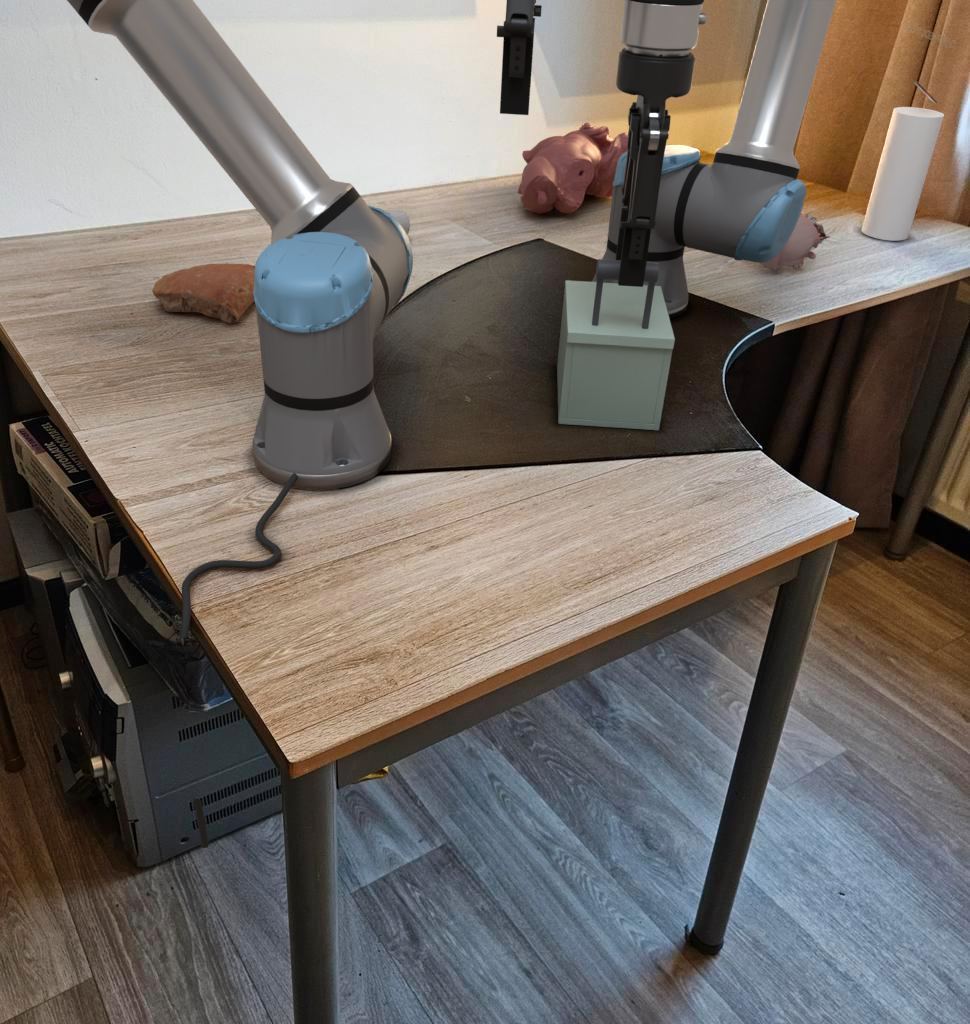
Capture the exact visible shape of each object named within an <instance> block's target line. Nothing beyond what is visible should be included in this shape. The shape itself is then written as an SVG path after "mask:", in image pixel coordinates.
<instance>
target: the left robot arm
mask: <svg viewBox="0 0 970 1024" xmlns="http://www.w3.org/2000/svg"><path fill="white" fill-rule="evenodd" d="M66 1H67V3H68V4H70V6H71V7H72V9H74V10H75V12H76V13H77V15H78V16H79V17H80V18H81V20H83V22H84V23H85V24H86V25H87V26H88V28H89V29H90V30H91V31H92V32H94V33H99V34H104V35H110V36H114V37H116V39H117V41H119V42H120V44H121V45H122V46H123V47H124V48H125V50H126V51H127V53H129V55H130V56H131V58H133V60H134V61H135V62H136V63H137V65H138V66H139V67H140V68H141V69H142V71H143V72H144V73H145V75H146V76H147V77H148V78H149V80H150V81H151V82H152V84H154V86H155V87H156V88H157V89H158V91H159V92H160V93H161V94H162V96H163V97H164V98H165V100H167V101H168V103H169V104H170V105H171V106H172V108H173V109H174V111H175V112H176V113H177V114H178V115H179V116H180V117H181V119H182V120H183V121H184V123H185V124H186V125H187V127H189V129H190V130H191V131H192V132H193V133H194V135H195V136H196V137H197V138H198V140H199V141H200V142H201V143H202V145H203V146H204V147H205V149H206V150H207V151H208V153H210V155H211V156H212V157H213V158H214V160H216V162H217V163H218V165H219V166H220V167H221V168H222V169H223V171H224V172H225V173H226V174H227V175H228V177H229V178H230V179H231V181H233V183H234V184H235V185H236V186H237V188H238V189H239V190H240V191H241V192H242V194H243V195H244V196H245V198H246V199H247V200H248V202H250V204H251V205H252V206H253V207H254V209H255V211H257V213H258V214H259V215H260V216H261V217H262V219H264V221H265V222H266V224H267V225H268V226H269V228H270V230H271V236H270V237H271V241H270V244H269V245H268V246H266V248H265V249H264V250H262V252H261V253H260V254H259V256H258V258H257V259H256V261H255V265H254V266H255V270H254V277H255V281H254V290H253V295H254V305H255V310H256V311H255V312H256V320H257V331H258V340H259V349H260V359H261V369H262V378H263V388H264V390H263V391H264V396H263V400H262V404H261V408H260V412H259V415H258V419H257V423H256V427H255V430H254V434H253V438H252V442H251V443H252V445H251V446H252V455H253V460H254V464H255V467H256V468H257V470H258V471H259V472H260V473H261V474H262V475H263V476H265V477H266V478H268V479H269V480H271V481H273V482H275V483H278V484H280V485H283V488H282V489H281V490H280V492H279V493H278V494H277V497H276V498H275V500H273V502H272V504H271V505H270V506H269V507H268V509H267V510H266V511H265V512H264V513H263V514H262V515H261V517H260V518H259V520H258V521H257V523H256V526H255V531H254V532H255V538H256V539H257V540H258V542H259V543H260V544H261V545H262V546H264V547H265V548H267V549H268V550H270V551H271V552H272V553H273V555H272V556H271V557H269V558H267V559H264V560H256V561H255V560H254V561H253V560H251V561H249V560H235V559H234V560H233V559H224V560H223V559H217V560H211V561H208V562H204V563H202V564H201V565H198V566H197V567H196V568H194V569H193V570H192V571H190V572H189V573H188V575H187V576H186V577H185V578H184V580H183V582H182V585H181V599H182V600H181V601H182V603H181V606H182V608H181V609H182V610H181V613H182V614H181V624H180V630H179V638H180V639H186V638H187V637H189V634H190V628H191V617H192V600H191V586H192V584H193V582H194V581H195V580H196V579H197V578H198V577H200V576H201V575H202V574H204V573H206V572H208V571H211V570H214V569H241V570H242V569H243V570H244V569H245V570H260V569H261V570H262V569H267V568H270V567H272V566H274V565H275V564H277V563H278V562H279V561H280V559H281V558H282V550H281V548H280V546H278V545H277V544H275V543H274V542H273V541H272V540H270V539H268V537H266V535H264V528H265V526H266V524H267V522H268V521H269V519H270V518H271V517H272V516H273V515H274V513H276V511H277V510H278V509H279V507H280V506H281V504H282V503H283V502H284V500H285V498H286V497H287V495H288V494H289V492H290V491H291V489H292V488H295V489H301V490H312V491H314V490H315V491H323V490H327V491H328V490H337V489H342V488H348V487H351V486H355V485H358V484H361V483H363V482H366V481H368V480H370V479H373V478H374V477H375V476H377V475H378V474H380V473H381V472H382V471H383V470H384V469H385V468H386V467H387V466H388V464H389V463H390V461H391V458H392V434H391V431H390V430H389V427H388V424H387V422H386V419H385V417H384V413H383V411H382V408H381V406H380V403H379V400H378V398H377V395H376V393H375V385H374V336H375V333H376V332H377V331H378V329H379V328H380V326H381V325H382V324H383V323H384V321H385V320H386V318H387V317H388V315H389V314H390V313H391V311H392V310H393V308H395V307H396V306H397V305H398V304H399V302H400V301H401V299H402V298H403V297H404V295H405V293H406V291H407V288H408V285H409V281H410V279H411V278H412V277H411V276H412V273H413V265H414V256H413V255H414V254H413V248H412V244H411V242H410V239H409V236H408V235H407V234H406V232H405V231H404V229H403V227H402V226H401V225H400V224H399V222H398V221H397V220H396V219H395V218H394V217H393V216H391V215H390V214H389V213H387V212H386V211H385V210H384V209H383V208H380V207H375V206H371V205H368V203H367V202H366V201H365V200H364V199H363V197H362V195H361V194H360V193H359V192H358V191H357V190H356V188H355V186H354V185H353V184H352V183H350V182H344V181H337V180H334V179H332V178H330V177H329V175H328V173H326V171H325V170H324V169H323V167H322V166H321V164H320V163H319V162H318V161H317V160H316V158H315V157H314V156H313V154H312V153H311V151H309V149H308V148H307V146H306V145H305V143H304V142H303V141H302V139H300V137H299V136H298V134H297V133H296V132H295V130H294V129H293V128H292V127H291V126H290V125H289V122H287V120H286V119H285V117H284V116H283V115H282V114H281V113H280V111H279V110H278V109H277V107H276V106H275V105H274V104H273V102H272V101H271V99H270V98H269V97H268V95H267V94H266V93H265V91H264V90H263V89H262V88H261V86H260V85H259V84H258V83H257V81H256V80H255V79H254V77H253V76H252V75H251V74H250V72H249V71H248V69H246V67H245V66H244V64H243V63H242V62H241V60H240V59H239V58H238V56H236V54H235V53H234V52H233V50H232V49H231V47H230V46H229V45H228V44H227V42H226V41H225V39H224V38H223V37H222V36H221V35H220V33H219V32H218V30H217V29H216V28H215V27H214V25H213V24H212V23H211V21H210V20H209V19H208V18H207V16H206V15H205V13H203V11H202V10H201V8H200V7H199V6H198V5H197V4H196V2H195V1H194V0H66ZM536 3H537V0H506V4H505V20H504V21H503V25H497V26H496V38H503V42H502V63H501V81H500V82H501V83H500V99H499V100H500V102H499V114H500V115H501V114H502V115H515V116H516V115H518V116H529V111H530V98H531V97H530V96H531V85H532V84H531V83H532V73H533V71H532V70H533V57H534V56H533V55H534V39H535V26H536V25H535V24H536V18H535V17H537V18H538V17H539V18H541V17H542V5H541V4H536ZM192 802H193V808H194V811H195V812H194V813H195V818H196V823H197V828H198V834H199V840H200V847H201V848H203V849H206V848H208V847H209V844H210V842H209V836H208V830H207V823H206V818H205V813H204V808H203V803H202V802H203V801H202V800H201V799H198V798H193V797H192Z"/></svg>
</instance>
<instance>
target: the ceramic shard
mask: <svg viewBox="0 0 970 1024" xmlns="http://www.w3.org/2000/svg"><path fill="white" fill-rule="evenodd" d="M254 270H255V265H252V264H249V263H207V264H201V265H194V266H192V267H188V268H183V269H179V270H176V271H173V272H170V273H167V274H164V275H162V276H161V277H160V278H159V279H158V280H157V281H156V282H155V283H154V285H153V287H152V290H151V292H152V295H153V296H154V297H155V298H156V299H157V300H158V301H159V302H160V303H161V305H162V307H163V308H164V310H165V311H167V312H169V313H174V312H175V313H200V314H203V315H204V316H206V317H210V318H216V319H220V320H221V321H223V322H225V323H227V324H235V323H237V322H238V321H239V319H240V318H241V317H242V315H243V314H244V313H245V312H246V310H247V309H249V307H250V306H251V305H252V304H253V303H255V301H254V295H253V290H254V281H255V277H254Z"/></svg>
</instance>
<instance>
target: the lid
mask: <svg viewBox="0 0 970 1024" xmlns="http://www.w3.org/2000/svg"><path fill="white" fill-rule="evenodd" d="M620 263H621V260H607V259H602V258H597V260H596V265H595V266H596V267H595V274H596V279H597V282H592V281H584V280H583V281H582V280H581V281H580V280H568V279H567V280H566V279H565V281H564V291H565V311H566V334H567V342H568V343H584V344H599V345H615V346H631V347H646V348H662V349H673V350H674V347H675V342H676V338H675V334H674V330H673V327H672V323H671V319H669V315H668V312H667V308H666V304H665V300H664V297H663V293H662V289H661V286H655V283H656V282H657V281H658V276H659V263H655V262H646V269H645V276H644V282H648V285H643V287H635V286H618V284H617V283H603V280H604V279H605V280H618V279H619V271H620Z"/></svg>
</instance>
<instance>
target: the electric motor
mask: <svg viewBox="0 0 970 1024" xmlns="http://www.w3.org/2000/svg"><path fill="white" fill-rule="evenodd" d="M386 212H387V213H389V214H390V215H391V216H393V217H394V218H395V219H396V220H397V221H398V222H399V224H400V225H401V226H402V227H403V229H404V231H405V232H406V234H407V236H408V235H409V233H410V229H411V222H410V218H409V216H408V213H407V212H406V210H404V209H403V208H397V209H392V210H387V211H386Z"/></svg>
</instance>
